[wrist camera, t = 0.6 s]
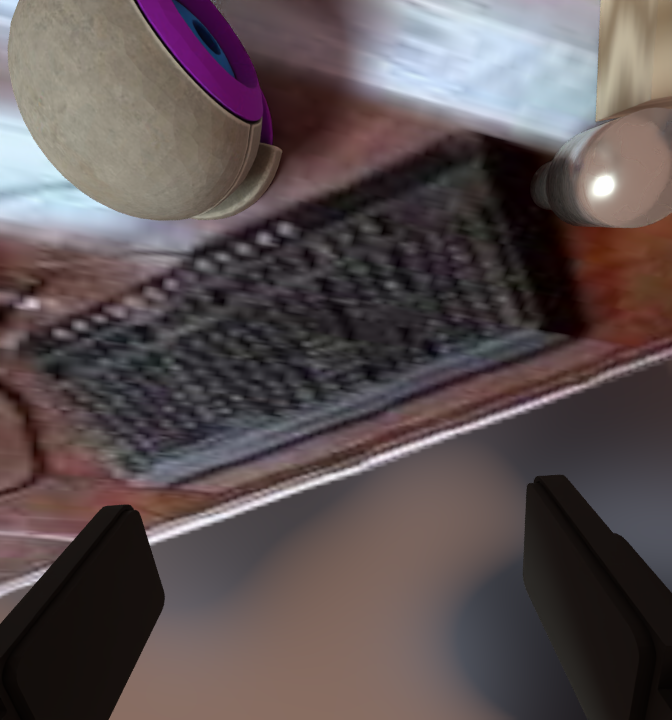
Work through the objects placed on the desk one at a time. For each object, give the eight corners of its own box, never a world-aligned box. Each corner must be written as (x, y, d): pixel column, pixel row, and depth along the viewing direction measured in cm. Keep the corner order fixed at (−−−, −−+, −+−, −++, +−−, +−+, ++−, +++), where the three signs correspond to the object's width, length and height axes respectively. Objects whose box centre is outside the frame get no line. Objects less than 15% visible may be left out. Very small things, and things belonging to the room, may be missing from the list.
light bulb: (514, 150, 32) (588, 118, 22) (594, 136, 31) (709, 97, 21) (515, 230, 34) (584, 235, 24) (591, 219, 33) (694, 218, 23)
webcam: (313, 160, 32) (283, 113, 18) (189, 251, 35) (79, 272, 21) (210, -9, 29) (76, -225, 15) (82, 106, 32) (-135, 14, 18)
